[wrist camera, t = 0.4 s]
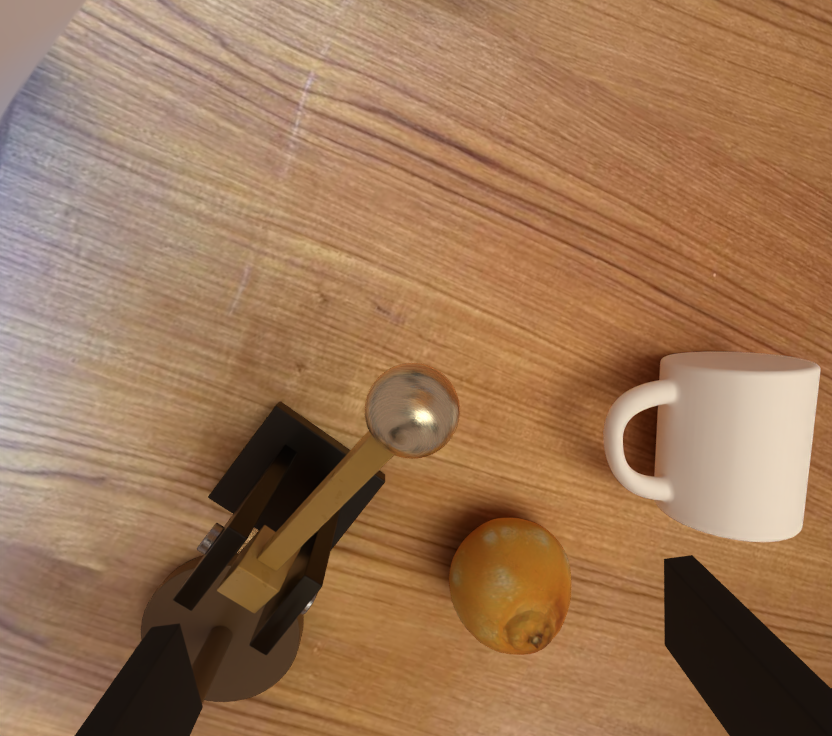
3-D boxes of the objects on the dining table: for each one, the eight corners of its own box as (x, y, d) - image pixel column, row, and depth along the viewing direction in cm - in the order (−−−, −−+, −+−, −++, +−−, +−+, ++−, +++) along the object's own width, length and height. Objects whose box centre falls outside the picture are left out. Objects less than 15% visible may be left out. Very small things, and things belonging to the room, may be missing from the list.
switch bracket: (280, 401, 30) (211, 468, 19) (385, 474, 32) (382, 580, 20) (214, 489, 31) (109, 607, 20) (319, 558, 32) (280, 706, 21)
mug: (745, 348, 32) (862, 367, 24) (734, 480, 33) (840, 539, 25) (579, 357, 31) (644, 379, 23) (577, 490, 33) (635, 553, 25)
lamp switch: (412, 329, 15) (387, 375, 13) (483, 384, 16) (474, 440, 13) (238, 537, 23) (201, 593, 21) (289, 569, 24) (258, 627, 21)
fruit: (565, 638, 32) (601, 668, 25) (452, 641, 32) (454, 672, 25) (548, 517, 35) (576, 512, 27) (445, 522, 35) (445, 517, 28)
